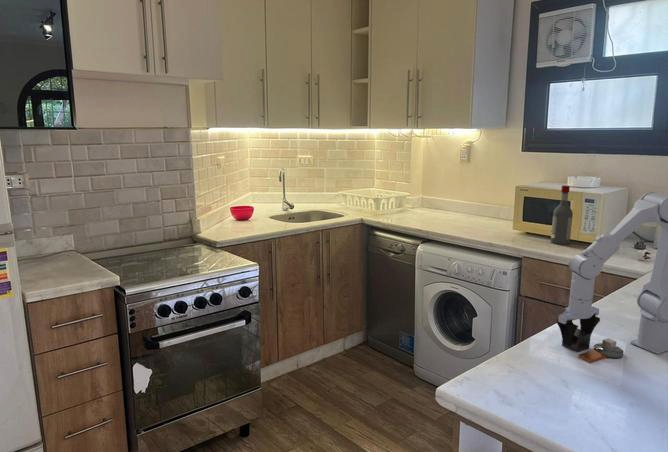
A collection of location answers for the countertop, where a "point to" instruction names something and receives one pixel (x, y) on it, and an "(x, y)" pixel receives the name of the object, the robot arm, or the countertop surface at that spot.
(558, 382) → the countertop surface
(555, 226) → the liquor
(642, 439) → the countertop surface
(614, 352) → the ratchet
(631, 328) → the countertop surface
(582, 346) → the dark grey cube
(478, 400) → the countertop surface
